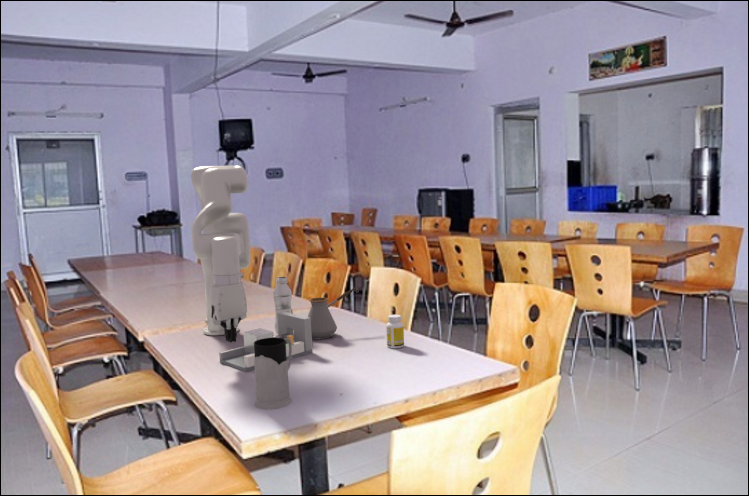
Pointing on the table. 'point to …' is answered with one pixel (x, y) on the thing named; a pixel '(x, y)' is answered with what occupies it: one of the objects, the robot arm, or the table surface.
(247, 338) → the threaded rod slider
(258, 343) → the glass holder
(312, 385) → the table surface
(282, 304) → the plastic bottle
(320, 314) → the coffee pot
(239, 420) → the table surface
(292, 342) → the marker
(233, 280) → the robot arm
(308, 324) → the track
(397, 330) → the supplement bottle
